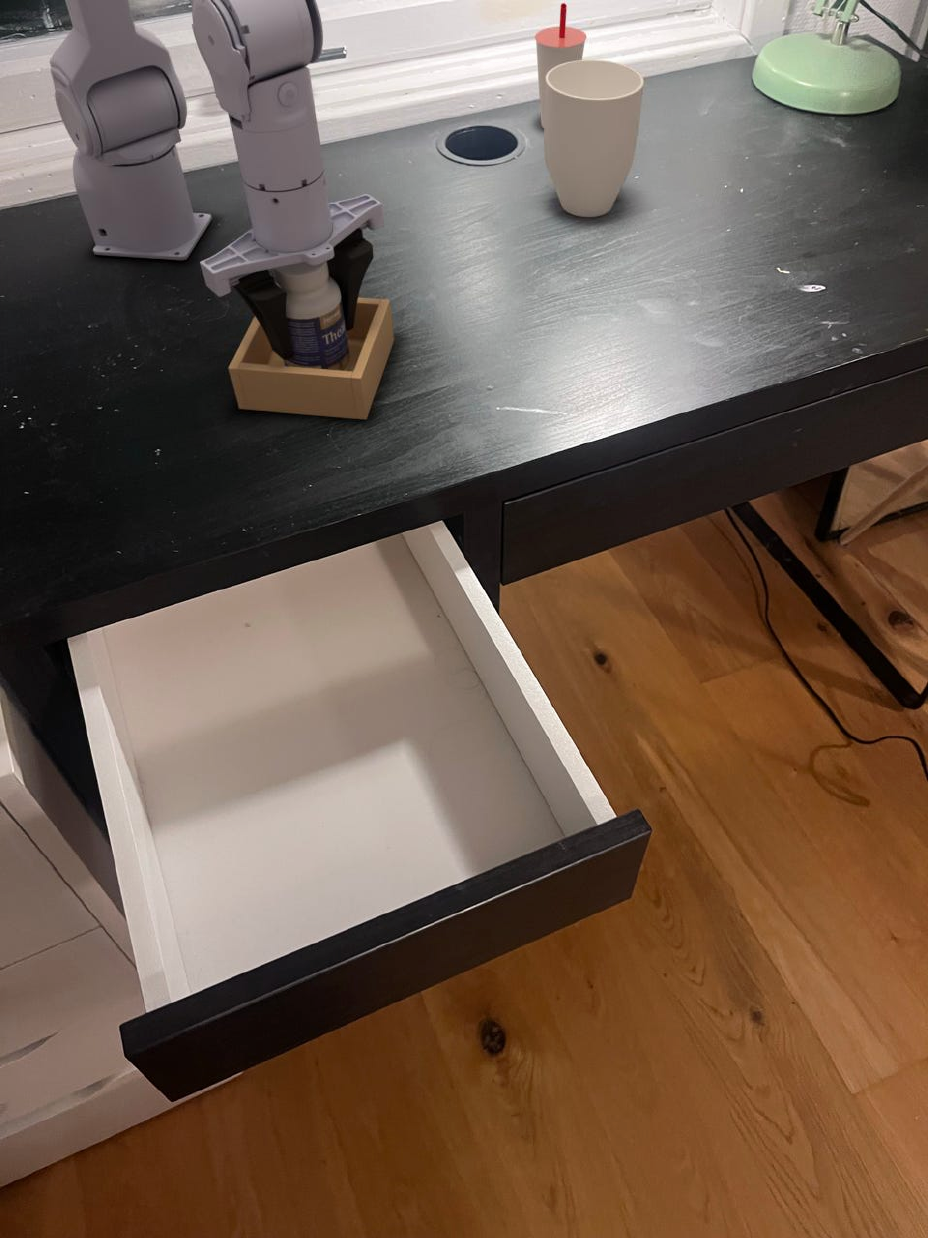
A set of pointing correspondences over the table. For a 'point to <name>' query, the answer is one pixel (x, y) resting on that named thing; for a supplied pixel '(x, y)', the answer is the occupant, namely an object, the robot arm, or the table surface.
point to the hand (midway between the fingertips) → (312, 338)
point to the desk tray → (316, 370)
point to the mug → (591, 132)
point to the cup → (556, 51)
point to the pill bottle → (314, 317)
